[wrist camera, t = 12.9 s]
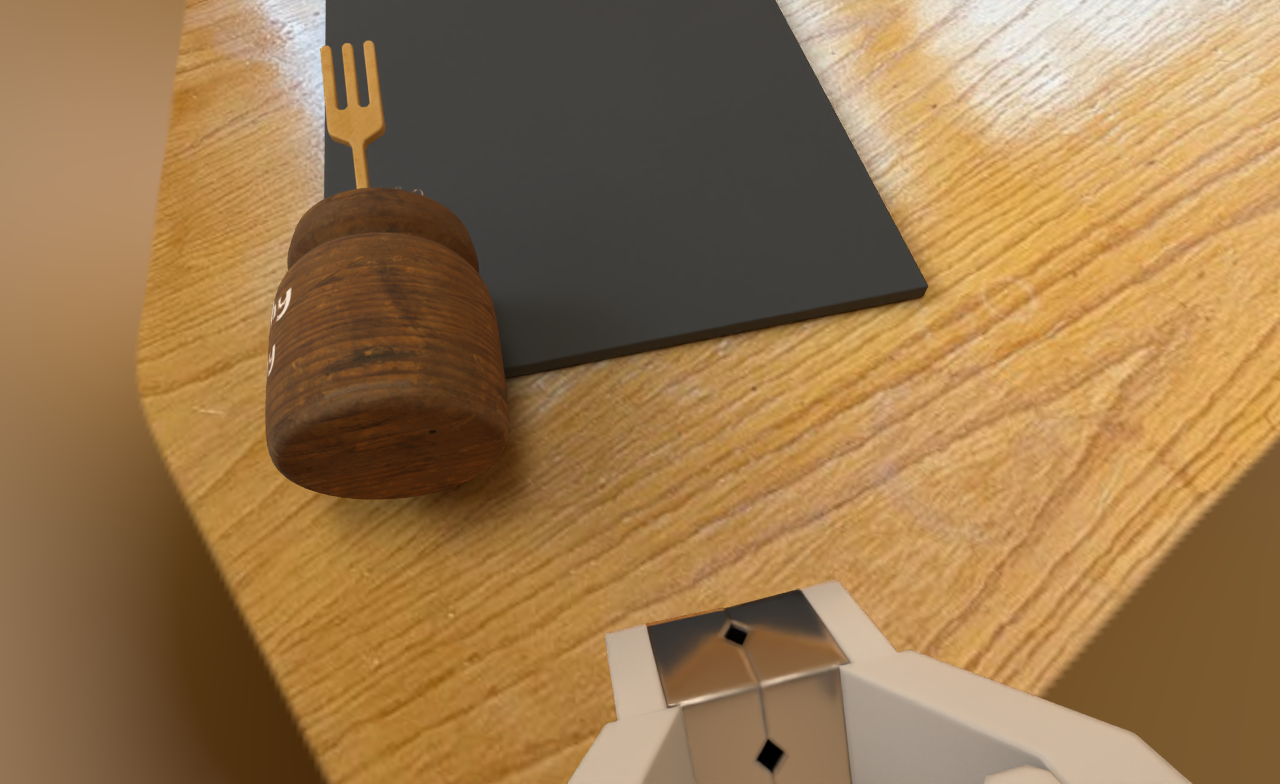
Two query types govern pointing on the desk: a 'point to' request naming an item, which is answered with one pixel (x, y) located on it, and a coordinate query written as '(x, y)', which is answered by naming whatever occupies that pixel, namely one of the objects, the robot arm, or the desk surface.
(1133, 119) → the desk surface
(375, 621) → the desk surface
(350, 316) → the utensil holder
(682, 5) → the desk mat
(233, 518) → the desk surface
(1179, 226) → the desk surface
